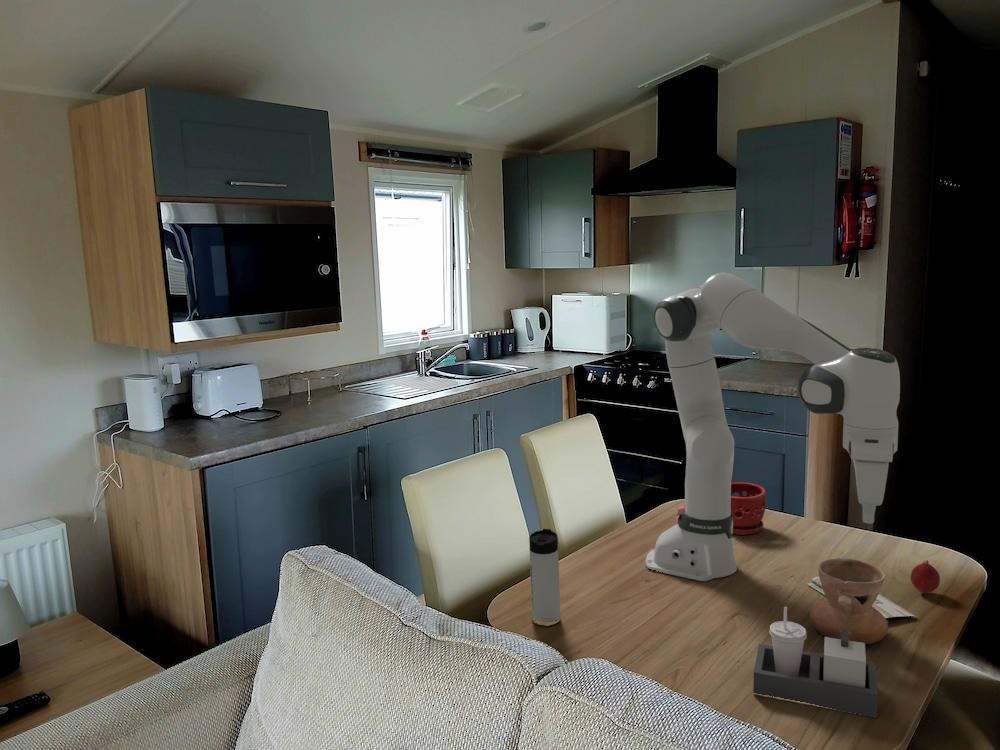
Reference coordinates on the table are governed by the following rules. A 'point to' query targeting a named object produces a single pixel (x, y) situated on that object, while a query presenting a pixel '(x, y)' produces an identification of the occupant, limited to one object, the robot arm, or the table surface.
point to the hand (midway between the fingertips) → (867, 513)
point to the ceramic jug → (850, 601)
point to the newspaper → (880, 604)
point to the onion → (925, 577)
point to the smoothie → (787, 645)
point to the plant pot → (747, 508)
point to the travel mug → (544, 575)
